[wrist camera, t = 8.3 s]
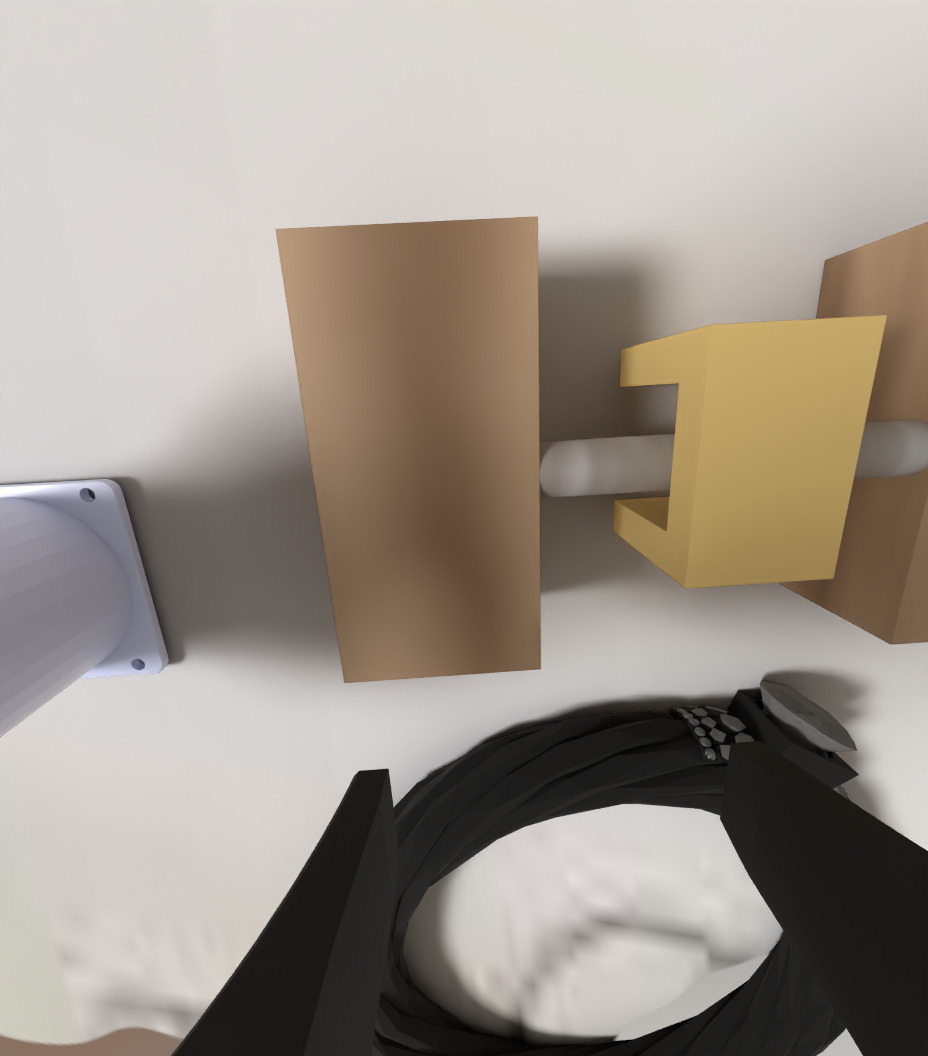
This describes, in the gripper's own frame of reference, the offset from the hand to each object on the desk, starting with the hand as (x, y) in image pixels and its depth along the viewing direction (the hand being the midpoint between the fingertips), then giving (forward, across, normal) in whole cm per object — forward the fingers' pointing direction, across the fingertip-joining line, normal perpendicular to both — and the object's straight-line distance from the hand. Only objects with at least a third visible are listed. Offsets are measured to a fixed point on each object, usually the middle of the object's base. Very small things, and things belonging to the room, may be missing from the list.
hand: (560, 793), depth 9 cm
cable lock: (+10, -5, +18) cm, 21 cm away
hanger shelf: (+9, -6, -6) cm, 13 cm away
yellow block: (+8, -6, -6) cm, 12 cm away
